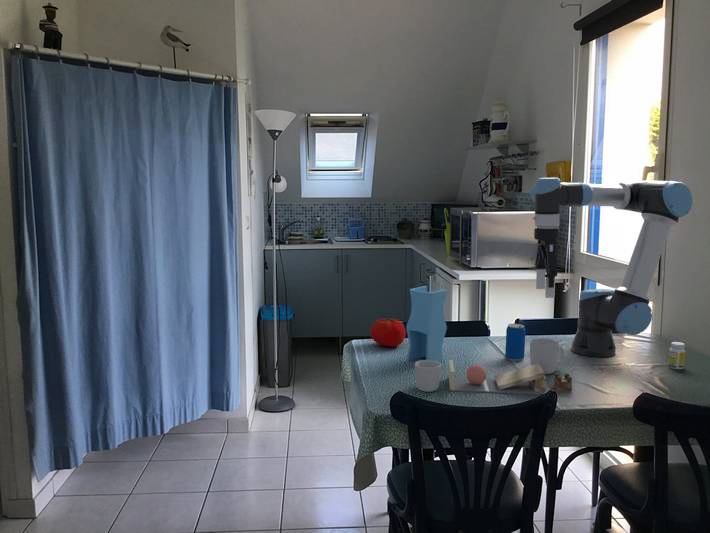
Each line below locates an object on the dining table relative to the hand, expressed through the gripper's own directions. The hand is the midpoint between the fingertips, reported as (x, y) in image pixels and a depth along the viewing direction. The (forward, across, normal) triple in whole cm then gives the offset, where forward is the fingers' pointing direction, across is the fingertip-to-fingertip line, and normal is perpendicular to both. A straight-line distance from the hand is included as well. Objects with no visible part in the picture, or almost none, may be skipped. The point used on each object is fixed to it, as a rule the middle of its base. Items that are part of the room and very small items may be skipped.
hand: (545, 293), depth 205 cm
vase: (+26, -9, -38) cm, 47 cm away
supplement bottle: (+28, -9, +46) cm, 55 cm away
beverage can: (+27, -14, -7) cm, 31 cm away
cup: (+25, +19, -39) cm, 50 cm away
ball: (+25, +15, -24) cm, 38 cm away
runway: (+26, +16, -17) cm, 34 cm away
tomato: (+25, -26, -51) cm, 63 cm away
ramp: (+26, +16, -11) cm, 32 cm away
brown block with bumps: (+26, +16, +2) cm, 31 cm away
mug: (+27, -2, +2) cm, 27 cm away
